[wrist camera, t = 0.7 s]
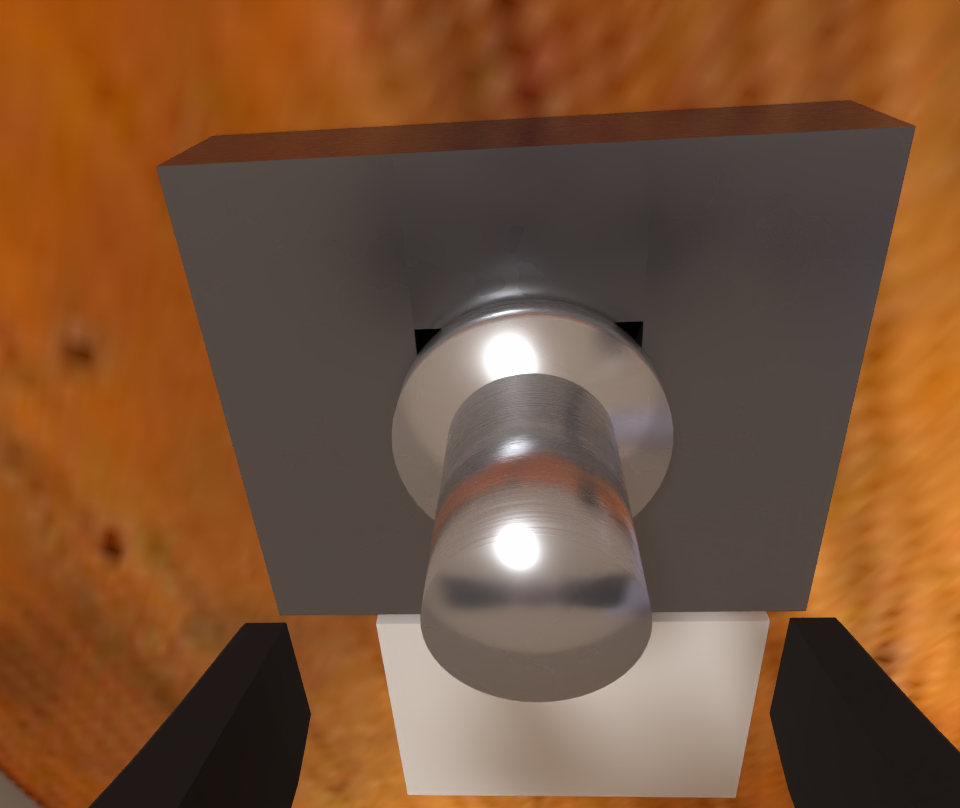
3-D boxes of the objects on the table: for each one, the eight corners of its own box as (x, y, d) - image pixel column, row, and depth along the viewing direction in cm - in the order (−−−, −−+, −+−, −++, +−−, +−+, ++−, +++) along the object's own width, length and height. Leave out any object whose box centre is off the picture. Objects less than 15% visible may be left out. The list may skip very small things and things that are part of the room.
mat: (760, 596, 23) (769, 621, 22) (728, 772, 28) (735, 797, 27) (381, 600, 24) (376, 623, 23) (411, 769, 28) (408, 794, 28)
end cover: (654, 250, 17) (757, 464, 10) (641, 462, 20) (712, 747, 13) (399, 261, 18) (312, 474, 10) (424, 466, 21) (371, 745, 13)
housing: (850, 100, 16) (915, 125, 13) (771, 534, 22) (805, 610, 19) (212, 136, 17) (156, 166, 14) (307, 541, 23) (279, 615, 20)
